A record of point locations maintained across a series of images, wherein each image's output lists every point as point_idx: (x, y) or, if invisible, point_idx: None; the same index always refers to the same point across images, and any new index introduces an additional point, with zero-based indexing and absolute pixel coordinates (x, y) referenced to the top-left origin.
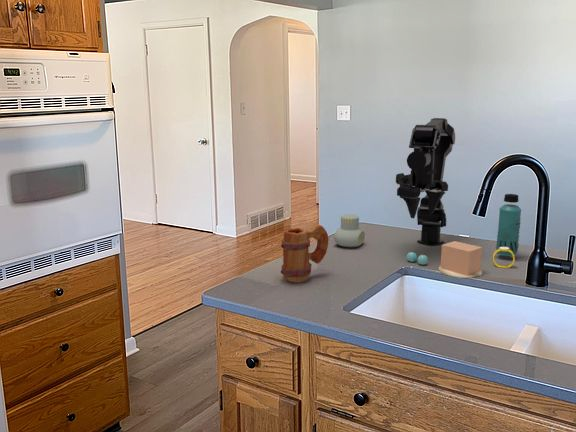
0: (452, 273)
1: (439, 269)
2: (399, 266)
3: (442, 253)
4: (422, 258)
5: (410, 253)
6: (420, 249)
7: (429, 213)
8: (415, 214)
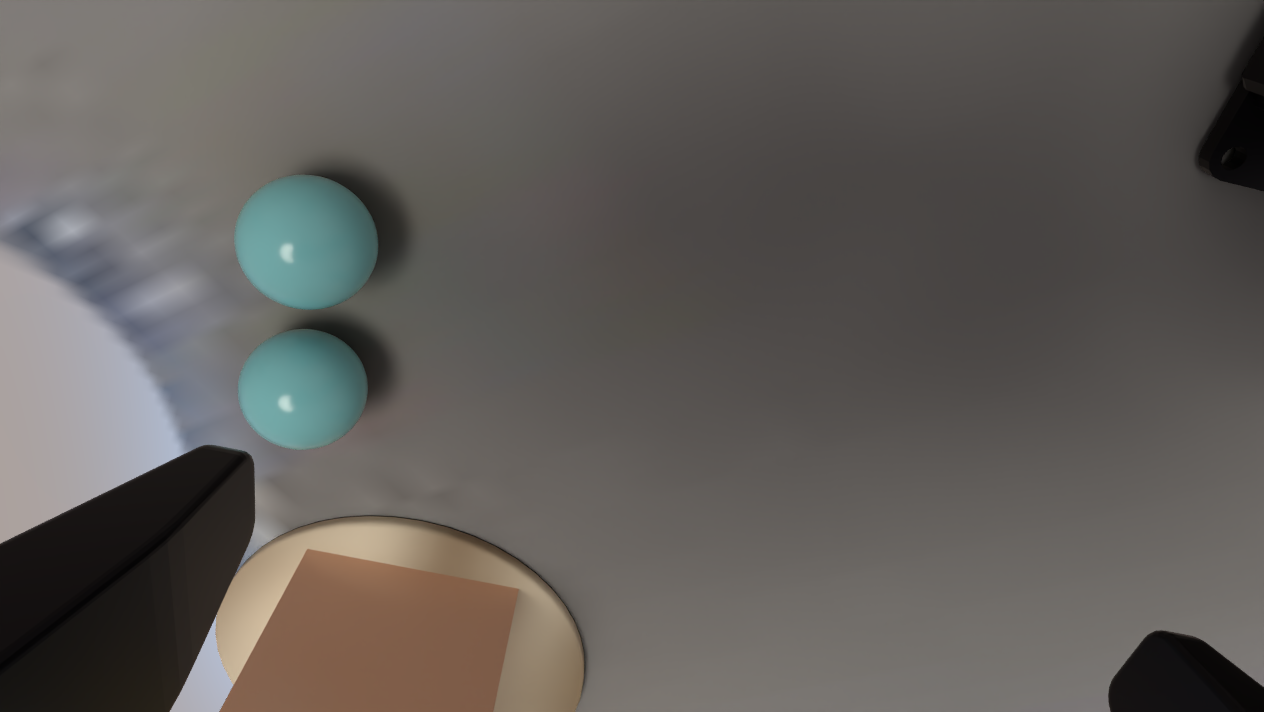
0: None
1: (265, 553)
2: (58, 180)
3: (240, 685)
4: (248, 420)
5: (245, 260)
6: (939, 82)
7: (1142, 645)
8: (171, 674)
